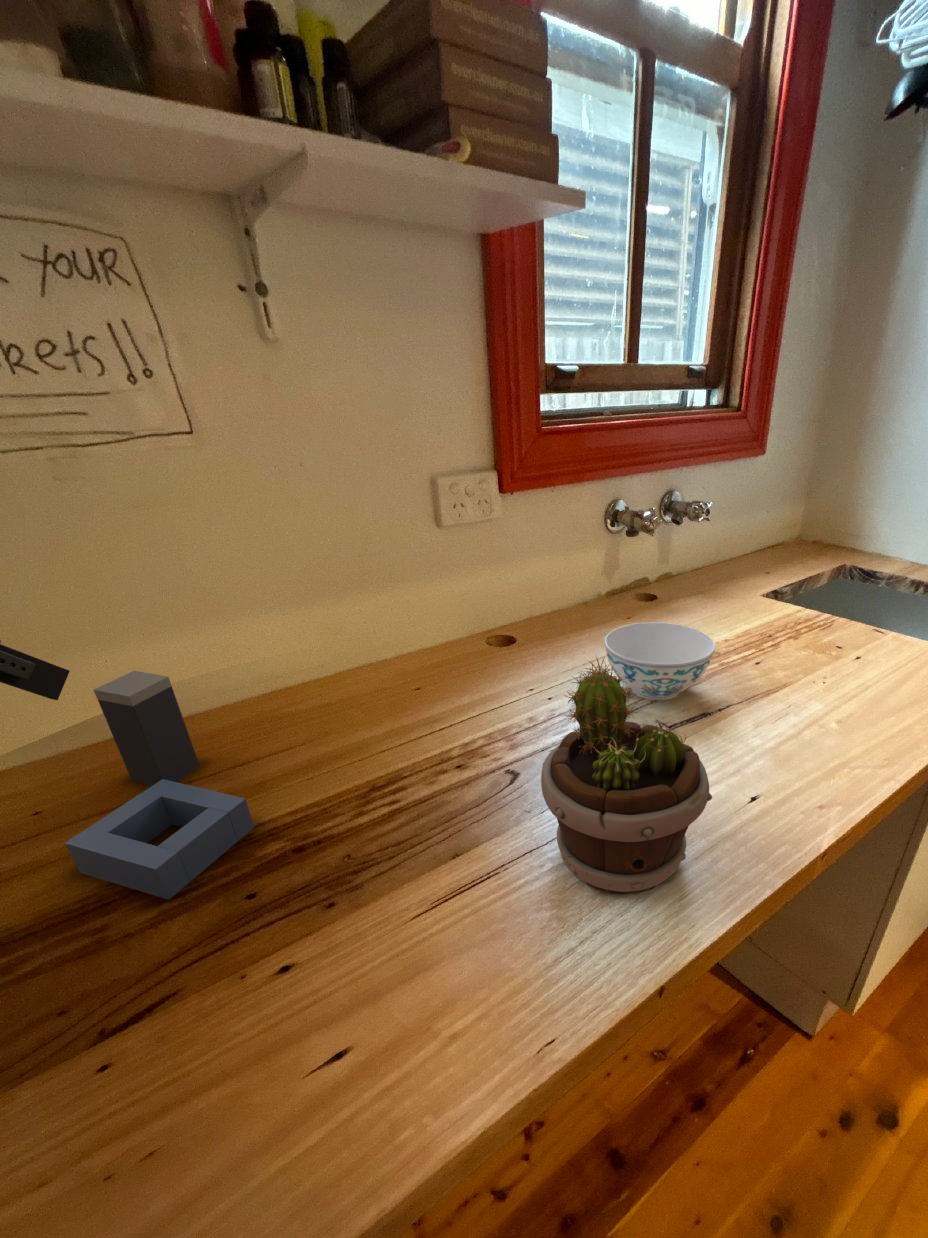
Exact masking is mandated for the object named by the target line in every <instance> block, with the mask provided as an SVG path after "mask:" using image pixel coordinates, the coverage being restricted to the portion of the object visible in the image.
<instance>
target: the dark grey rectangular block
mask: <svg viewBox="0 0 928 1238" xmlns="http://www.w3.org/2000/svg"><path fill="white" fill-rule="evenodd" d="M93 692H94V695H95V698H96V699H97V702H98V705H99V707H100V709H101V711H102V713H103V717H104V719H105V720H106V723H107V725H108V727H109V730H110V733H111V735H112V738H113V740H114V741H115V742H114V743H115V744H116V747H117V749H118V752H119V754H120V756H121V759H122V761H123V764H124V765H125V767H126V770H127V773H128V775H129V778H130V780H131V782H135V783H139V784H143V785H147V786H150V787H151V786H153V785H154V784H156V783H157V782H159V781H160V780H162V779H164V780H168V781H173V782H178V781H179V780H181V779H182V778H183V777H185V776H187V775H188V774H190V773H191V772H192V771H194V770H196V769H198V768H199V767H200V766H201V765H200V763H199V760H198V756H197V754H196V751H195V748H194V745H193V743H192V740H191V737H190V734H189V732H188V728H187V725H186V723H185V720H184V717H183V714H182V711H181V708H180V705H179V702H178V700H177V697H176V695H175V692H174V688H173V685H172V682H171V679H170V677H169V676H168V675H161V674H155V673H150V672H144V671H139V670H133V671H130V672H128V673H126V674H124V675H122V676H119V677H117V678H115V679H113V680H111V681H109V682H107V683H105V684H102V685H99V686H98V687H95V688H94V689H93Z"/></svg>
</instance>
